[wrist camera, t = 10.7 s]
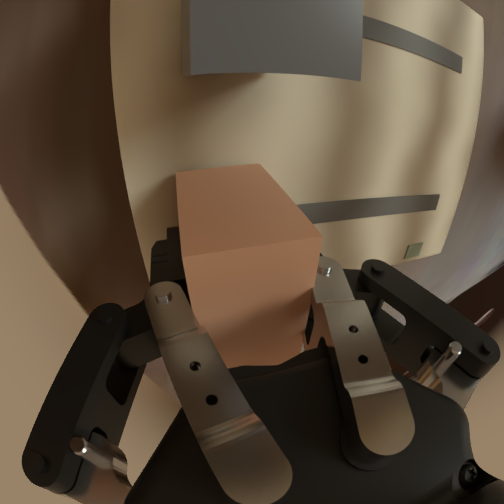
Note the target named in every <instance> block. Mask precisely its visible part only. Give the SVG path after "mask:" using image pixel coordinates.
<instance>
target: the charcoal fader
mask: <svg viewBox="0 0 504 504" xmlns="http://www.w3.org/2000/svg"><path fill="white" fill-rule="evenodd" d="M362 40H363V0H181V58H182V77H183V76H193V75H206V74H224V73H279V74H298V75H311V76H322V77H331V78H339V79H347V80H353V81H360V82H361V67H362Z"/></svg>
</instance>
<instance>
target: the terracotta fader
mask: <svg viewBox="0 0 504 504" xmlns="http://www.w3.org/2000/svg"><path fill="white" fill-rule="evenodd" d="M176 189H177V205H178V219H179V231H180V242H181V253H182V260H183V266H184V271H185V277H186V282H187V287H188V292H189V297H190V302H191V307H192V310H193V312H194V314H195V316H196V318H197V320H198V322H199V324H200V326H204V327H205V329H206V330H207V332H208V334H209V336H210V338H211V339H212V341H213V343H214V345H215V347H216V349H217V351H218V352H219V354H220V356H221V358H222V360H223V361H224V363H225V365H226V367H227V368H233V367H238V366H243V365H251V366H262V365H279V364H281V363H283V362H285V361H287V360H289V359H291V358H293V357H295V356H297V355H298V354H300V351H301V347H302V342H303V338H302V336H303V331H304V329H305V328H306V324H307V320H308V315H309V310H310V305H311V300H310V296H311V291H312V288H313V287H314V285H315V280H316V274H317V269H318V263H319V257H320V252H321V246H322V239H323V236H322V234H321V233H320V232H319V231H318V230H317V228H316V227H315V226H314V225H313V224H312V222H311V221H310V220H309V219H308V218H307V217H306V215H305V214H304V213H303V212H302V211H301V210H300V208H299V207H298V206H297V205H296V204H295V203H294V201H293V200H292V199H291V198H290V197H289V196H288V195H287V193H286V192H285V191H284V190H283V189H282V188H281V187H280V186H279V184H278V183H277V182H276V181H275V180H274V179H273V178H272V177H271V176H270V174H269V173H268V172H267V171H266V170H265V169H264V168H263V167H262V166H261V165H260V164H247V165H236V166H226V167H216V168H207V169H199V170H191V171H183V172H176Z"/></svg>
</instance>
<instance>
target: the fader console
mask: <svg viewBox="0 0 504 504" xmlns="http://www.w3.org/2000/svg"><path fill="white" fill-rule="evenodd" d="M110 52H111V72H112V86H113V97H114V107H115V116H116V124H117V132H118V139H119V146H120V153H121V159H122V165H123V171H124V176H125V181H126V187H127V192H128V197H129V202H130V206H131V211H132V215H133V220H134V224H135V228H136V233H137V237H138V241H139V245H140V249H141V253H142V256H143V260H144V264H145V267H146V271H147V274H148V278H149V281H150V266H151V248H152V247H153V245H154V244H155V242H156V241H159V240H165V239H167V228H169V227H176V226H179V219H178V205H177V189H176V172H183V171H191V170H199V169H207V168H216V167H226V166H236V165H247V164H260V165H261V166H262V167H263V168H264V169H265V170H266V171H267V172H268V173H269V174H270V176H271V177H272V178H273V179H274V180H275V181H276V182H277V183H278V184H279V186H280V187H281V188H282V189H283V190H284V191H285V192H286V193H287V195H288V196H289V197H290V198H291V199H292V200H293V201H294V203H295V204H296V205H297V206H298V207H299V208H300V210H301V211H302V212H303V213H304V214H305V215H306V217H307V218H308V219H309V220H310V221H311V222H312V224H313V225H314V226H315V227H316V228H317V230H318V231H319V232H320V233H321V234H322V236H323V239H322V246H321V252H320V253H321V254H322V255H323V256H325V257H330V258H332V259H334V260H336V261H337V262H339V263H340V265H341V266H342V268H343V269H358V270H361V266H362V264H363V262H364V261H366V260H369V259H377V260H381V261H384V262H386V263H387V264H389V265H390V266H391V265H395V264H399V263H403V262H407V261H411V260H415V259H419V258H423V257H427V256H431V255H435V254H438V253H441V250H442V248H443V245H444V242H445V240H446V237H447V234H448V232H449V229H450V226H451V223H452V220H453V217H454V214H455V211H456V208H457V205H458V202H459V199H460V195H461V192H462V188H463V185H464V181H465V177H466V174H467V170H468V165H469V161H470V157H471V152H472V148H473V143H474V138H475V132H476V127H477V120H478V114H479V107H480V98H481V89H482V77H483V56H484V32H483V18H482V17H481V16H480V15H478V14H477V13H476V12H475V11H473V10H472V9H471V8H469V7H468V6H467V5H465V4H464V3H463V2H461V1H460V0H363V40H362V67H361V82H360V81H353V80H347V79H339V78H331V77H322V76H311V75H298V74H279V73H224V74H206V75H193V76H183V77H182V58H181V0H110Z"/></svg>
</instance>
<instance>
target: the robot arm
mask: <svg viewBox="0 0 504 504" xmlns="http://www.w3.org/2000/svg"><path fill="white" fill-rule="evenodd" d="M310 300H311V305H310V310H309V315H308V320H307V324H306V328H305V329H304V331H303V336H302V338H303V344H304V349H305V351H304V352H302V353H300V354H298V355H297V356H295V357H293V358H291V359H289V360H287V361H285V362H283V363H281V364H279V365H262V366H251V365H243V366H238V367H233V368H227V367H226V365H225V363H224V361H223V360H222V358H221V356H220V354H219V352H218V351H217V349H216V347H215V345H214V343H213V341H212V339H211V338H210V336H209V334H208V332H207V330H206V329H205V327H204V326H200V324H199V322H198V320H197V318H196V316H195V314H194V312H193V310H192V307H191V302H190V297H189V292H188V287H187V282H186V277H185V271H184V266H183V260H182V253H181V242H180V231H179V226H176V227H169V228H167V239H165V240H159V241H156V242H155V244H154V245H153V247H152V248H151V266H150V288H149V289H148V290H147V291H146V292H145V295H144V300H143V301H141V302H140V303H138V304H137V305H135V306H132V307H130V308H127V309H125V310H123V308H122V307H121V306H120V305H118V304H115V303H106V304H103V305H100V306H98V307H97V308H95V309H94V310H93V311H92V312H91V314H90V315H89V317H88V319H87V321H86V322H85V324H84V326H83V328H82V329H81V331H80V333H79V335H78V336H77V338H76V340H75V342H74V343H73V345H72V347H71V349H70V351H69V353H68V354H67V356H66V358H65V360H64V362H63V364H62V366H61V368H60V370H59V372H58V374H57V376H56V378H55V380H54V382H53V384H52V386H51V388H50V390H49V392H48V394H47V396H46V399H45V401H44V403H43V405H42V407H41V410H40V412H39V414H38V417H37V419H36V421H35V424H34V426H33V428H32V431H31V433H30V436H29V439H28V441H27V444H26V447H25V449H24V452H23V455H22V467H23V470H24V473H25V475H26V476H27V478H28V479H29V480H30V481H31V482H32V483H33V484H35V485H37V486H39V487H42V488H45V489H47V490H50V491H51V492H53V493H56V494H59V495H62V496H65V497H68V498H72V499H75V500H77V501H78V502H80V503H82V504H504V481H502V480H500V479H498V478H496V477H493V476H492V475H490V474H488V473H487V472H485V471H484V470H482V469H481V468H480V467H479V466H478V465H477V463H476V462H475V460H474V457H473V453H472V449H471V443H470V432H469V422H468V419H467V416H466V414H465V412H464V408H465V407H466V405H467V403H468V401H469V399H470V398H471V396H472V394H473V392H474V390H475V388H476V386H477V384H478V382H479V381H480V380H481V379H482V378H483V377H484V376H485V375H486V374H487V373H488V372H489V371H490V370H491V368H492V367H493V366H494V365H495V364H496V363H497V362H498V361H499V358H500V349H499V346H498V344H497V343H496V341H495V340H494V339H492V337H490V336H489V335H488V334H486V333H485V332H484V331H483V330H481V329H480V328H479V327H477V326H476V325H475V324H473V323H472V322H471V321H469V320H468V319H467V318H465V317H464V316H463V315H461V314H460V313H459V312H457V311H456V310H454V309H453V308H452V307H450V306H449V305H447V304H446V303H445V302H443V301H442V300H440V299H439V298H438V297H436V296H435V295H433V294H432V293H430V292H429V291H428V290H426V289H425V288H423V287H422V286H420V285H419V284H417V283H416V282H414V281H413V280H411V279H410V278H408V277H407V276H405V275H404V274H402V273H401V272H399V271H398V270H396V269H395V268H393V267H392V266H390V265H389V264H387V263H386V262H384V261H381V260H377V259H369V260H366V261H364V262H363V264H362V266H361V270H358V269H343V268H342V266H341V265H340V263H339V262H337V261H336V260H334V259H332V258H330V257H325V256H323V255H322V254H321V253H320V257H319V263H318V269H317V274H316V280H315V285H314V287H313V288H312V291H311V296H310ZM384 301H385V302H386V303H388V304H389V305H390V306H392V307H393V308H395V309H396V310H397V311H399V312H400V313H401V314H402V315H403V316H404V317H405V319H406V325H405V326H404V325H402V324H401V323H400V322H398V321H397V320H396V319H394V318H393V317H392V316H390V315H389V314H388V313H386V312H385V311H384V310H382V309H381V307H382V305H383V302H384ZM385 352H386V353H387V354H388V355H390V356H391V357H392V358H393V359H394V360H396V361H397V362H398V363H399V364H401V365H402V366H403V367H404V368H405V369H407V370H408V371H409V372H410V373H412V374H413V375H414V376H415V377H417V380H418V382H419V383H417V382H415V381H413V380H411V379H409V378H407V377H405V376H403V375H401V374H399V373H397V372H395V371H393V370H391V368H390V365H389V363H388V359H387V357H386V354H385ZM159 357H162V358H163V360H164V363H165V366H166V368H167V371H168V374H169V376H170V379H171V381H172V384H173V386H174V389H175V391H176V393H177V396H178V398H179V401H180V403H181V405H182V407H181V409H180V411H179V412H178V414H177V416H176V417H175V419H174V421H173V422H172V424H171V425H170V427H169V429H168V430H167V432H166V434H165V435H164V437H163V439H162V440H161V442H160V444H159V445H158V447H157V448H156V450H155V452H154V453H153V455H152V456H151V458H150V460H149V461H148V463H147V464H146V466H145V468H144V469H143V471H142V472H141V474H140V476H139V477H138V479H137V480H136V482H135V483H134V485H133V487H132V485H131V484H130V482H129V480H128V477H127V459H126V457H125V454H124V453H123V451H122V450H121V449H120V448H118V445H119V442H120V439H121V436H122V433H123V430H124V427H125V424H126V421H127V418H128V415H129V412H130V409H131V406H132V403H133V400H134V398H135V395H136V392H137V389H138V386H139V384H140V381H141V378H142V375H143V373H144V370H145V367H146V363H148V362H150V361H153V360H155V359H157V358H159Z"/></svg>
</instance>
